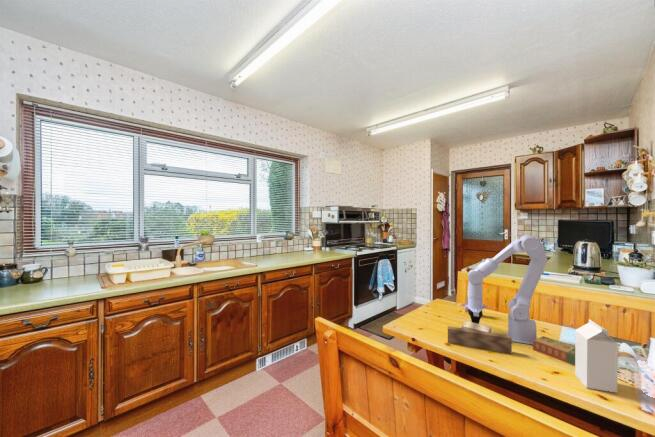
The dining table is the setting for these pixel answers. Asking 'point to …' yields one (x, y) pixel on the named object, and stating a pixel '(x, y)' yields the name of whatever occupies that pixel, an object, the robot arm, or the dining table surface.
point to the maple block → (476, 326)
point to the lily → (467, 304)
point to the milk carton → (596, 357)
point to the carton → (555, 349)
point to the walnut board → (480, 339)
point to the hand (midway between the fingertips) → (475, 326)
